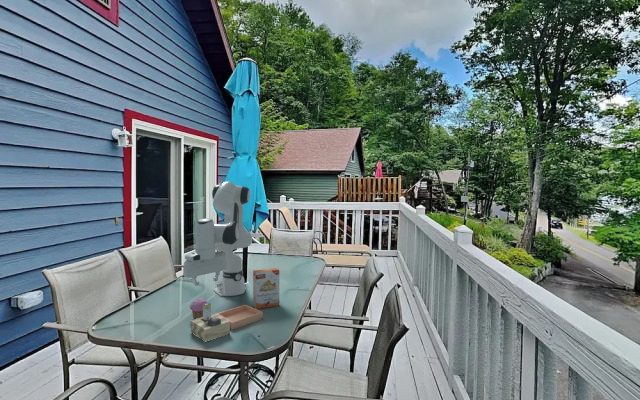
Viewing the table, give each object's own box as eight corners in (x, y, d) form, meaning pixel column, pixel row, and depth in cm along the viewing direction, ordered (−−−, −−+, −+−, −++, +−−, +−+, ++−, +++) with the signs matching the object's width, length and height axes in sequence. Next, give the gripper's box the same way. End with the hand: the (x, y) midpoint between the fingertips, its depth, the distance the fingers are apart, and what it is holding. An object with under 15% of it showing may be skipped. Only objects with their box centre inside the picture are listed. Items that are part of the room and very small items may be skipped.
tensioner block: (191, 333, 155) (190, 317, 155) (214, 325, 164) (214, 310, 163) (205, 343, 145) (205, 326, 145) (229, 334, 154) (229, 318, 153)
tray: (215, 320, 169) (215, 313, 169) (245, 310, 182) (245, 304, 182) (232, 329, 158) (232, 322, 158) (263, 318, 171) (262, 312, 171)
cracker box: (256, 310, 183) (255, 272, 182) (253, 306, 188) (252, 270, 187) (280, 305, 189) (279, 269, 188) (276, 302, 195) (275, 267, 194)
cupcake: (200, 313, 179) (200, 295, 178) (212, 316, 174) (211, 298, 174) (186, 319, 171) (186, 300, 170) (198, 322, 167) (197, 303, 166)
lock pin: (202, 331, 156) (201, 304, 156) (209, 329, 159) (208, 302, 158) (205, 334, 154) (204, 306, 153) (212, 331, 157) (211, 304, 156)
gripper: (222, 249, 164) (222, 277, 165) (181, 256, 150) (182, 286, 150) (229, 251, 160) (229, 279, 161) (187, 258, 145) (188, 289, 146)
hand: (206, 283), depth 155 cm, fingers open, 8 cm apart
